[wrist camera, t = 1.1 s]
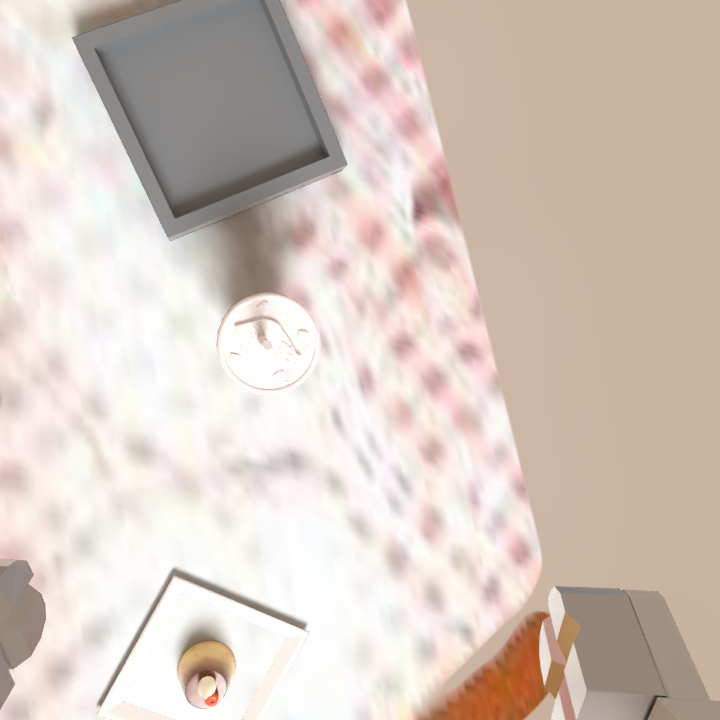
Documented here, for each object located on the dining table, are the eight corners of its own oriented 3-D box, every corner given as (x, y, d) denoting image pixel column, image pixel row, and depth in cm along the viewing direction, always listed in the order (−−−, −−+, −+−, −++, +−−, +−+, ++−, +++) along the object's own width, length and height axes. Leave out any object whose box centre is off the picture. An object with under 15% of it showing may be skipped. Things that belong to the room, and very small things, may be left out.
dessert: (237, 754, 49) (239, 801, 45) (98, 705, 47) (85, 750, 42) (308, 625, 50) (316, 658, 45) (174, 568, 47) (169, 597, 42)
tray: (79, 51, 41) (71, 37, 39) (265, -14, 44) (267, -30, 42) (170, 241, 44) (167, 238, 42) (341, 170, 46) (347, 164, 44)
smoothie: (243, 278, 45) (252, 268, 32) (316, 319, 47) (355, 327, 33) (201, 352, 45) (193, 374, 32) (276, 391, 47) (299, 428, 33)
